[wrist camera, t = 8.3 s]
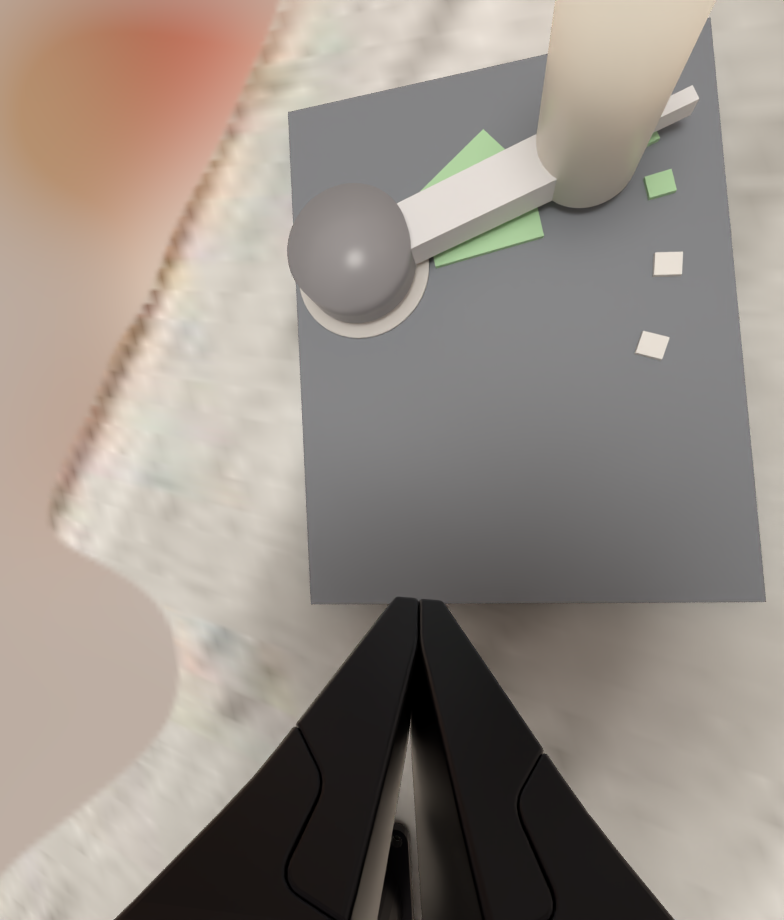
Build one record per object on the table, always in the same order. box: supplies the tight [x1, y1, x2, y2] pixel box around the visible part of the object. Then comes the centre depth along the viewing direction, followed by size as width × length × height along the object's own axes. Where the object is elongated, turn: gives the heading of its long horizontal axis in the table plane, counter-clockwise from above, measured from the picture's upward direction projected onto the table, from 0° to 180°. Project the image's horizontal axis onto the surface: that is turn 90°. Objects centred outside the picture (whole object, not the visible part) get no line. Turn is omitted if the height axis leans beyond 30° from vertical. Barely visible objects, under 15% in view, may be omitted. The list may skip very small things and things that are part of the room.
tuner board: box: [288, 18, 766, 604], centre depth 20 cm, size 23×18×1 cm
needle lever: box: [287, 0, 716, 323], centre depth 15 cm, size 16×5×9 cm, turn 111°
